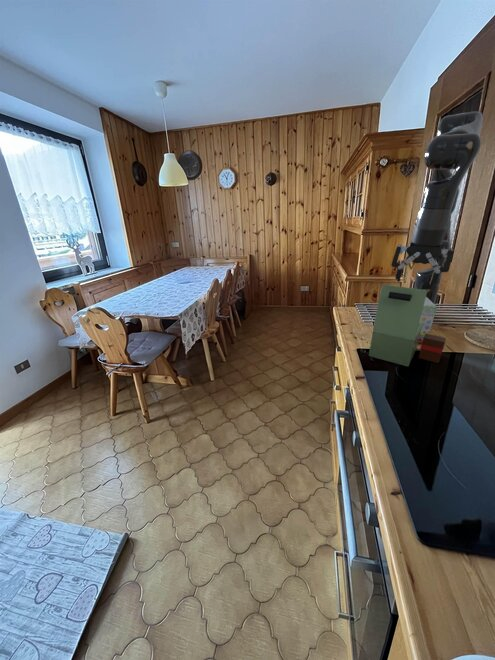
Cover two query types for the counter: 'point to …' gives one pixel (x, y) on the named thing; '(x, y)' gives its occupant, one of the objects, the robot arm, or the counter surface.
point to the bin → (394, 347)
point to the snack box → (427, 318)
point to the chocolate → (432, 348)
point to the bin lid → (399, 310)
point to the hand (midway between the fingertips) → (414, 282)
